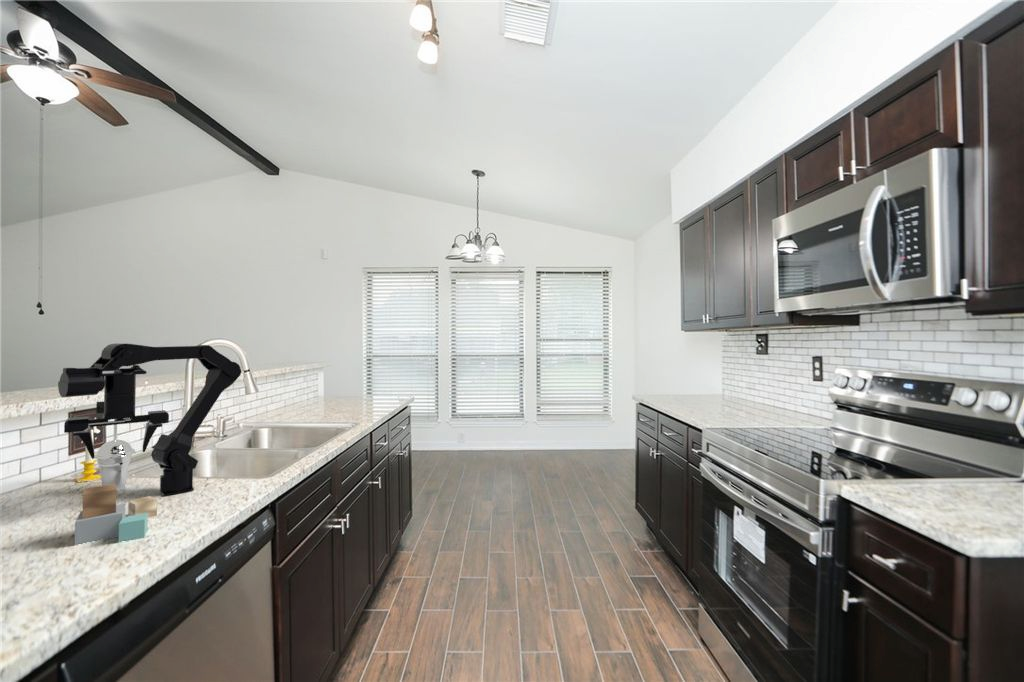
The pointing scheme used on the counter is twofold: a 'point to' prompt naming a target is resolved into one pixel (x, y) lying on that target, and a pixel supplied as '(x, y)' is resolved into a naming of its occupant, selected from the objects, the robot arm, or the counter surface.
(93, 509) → the walnut cube
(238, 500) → the counter surface
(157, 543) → the counter surface
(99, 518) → the grey cube
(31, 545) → the counter surface
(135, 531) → the teal cube
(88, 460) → the candle
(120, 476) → the cup with straw
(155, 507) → the maple cube
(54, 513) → the counter surface
